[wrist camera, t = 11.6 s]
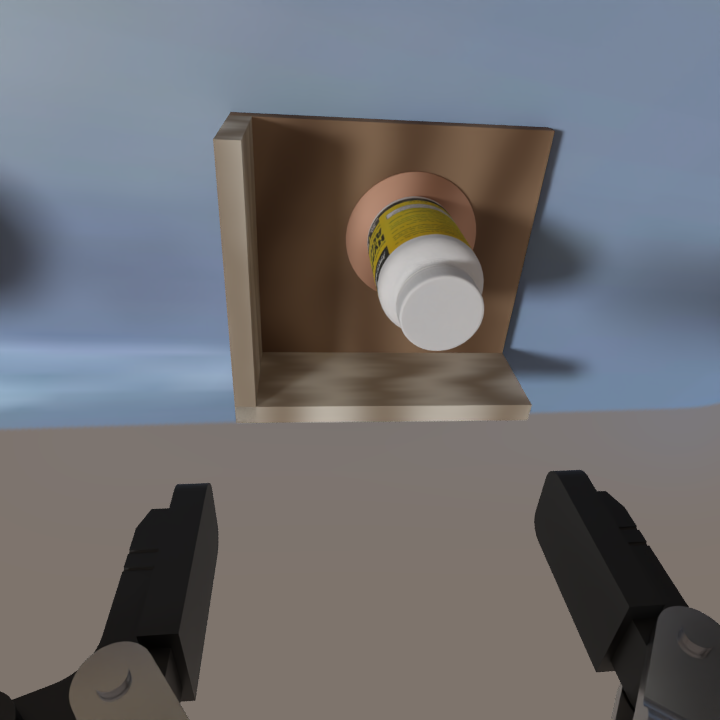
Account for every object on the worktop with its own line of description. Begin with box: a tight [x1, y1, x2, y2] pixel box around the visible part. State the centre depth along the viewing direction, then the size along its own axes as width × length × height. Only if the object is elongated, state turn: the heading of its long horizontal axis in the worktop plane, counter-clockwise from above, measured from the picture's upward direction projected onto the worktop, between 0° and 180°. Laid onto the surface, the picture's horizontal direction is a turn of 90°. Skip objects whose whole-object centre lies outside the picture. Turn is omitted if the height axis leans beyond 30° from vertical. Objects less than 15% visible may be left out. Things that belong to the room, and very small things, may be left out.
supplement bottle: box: [367, 196, 484, 351], centre depth 29 cm, size 5×5×10 cm
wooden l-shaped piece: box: [213, 112, 555, 423], centre depth 32 cm, size 18×16×7 cm
